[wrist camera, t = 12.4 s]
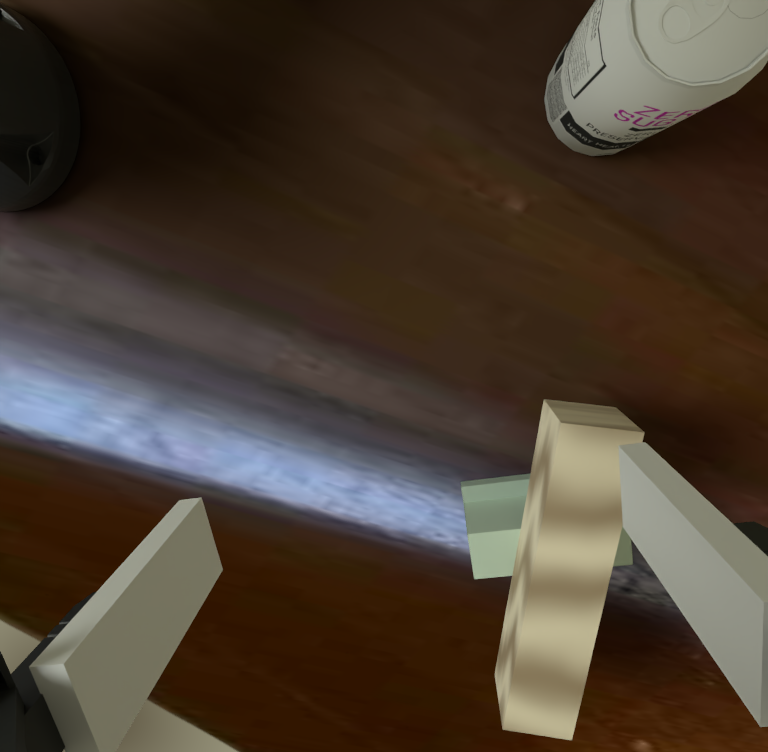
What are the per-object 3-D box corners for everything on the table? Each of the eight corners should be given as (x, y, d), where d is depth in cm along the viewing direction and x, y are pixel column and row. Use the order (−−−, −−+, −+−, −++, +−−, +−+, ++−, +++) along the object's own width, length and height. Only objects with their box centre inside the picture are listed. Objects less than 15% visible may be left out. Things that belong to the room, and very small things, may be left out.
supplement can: (626, 4, 35) (764, -169, 20) (681, 112, 36) (849, 21, 22) (521, 80, 36) (579, -30, 22) (578, 180, 38) (668, 139, 23)
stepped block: (471, 551, 46) (476, 595, 40) (460, 481, 45) (464, 516, 39) (607, 538, 45) (634, 581, 39) (601, 465, 43) (628, 499, 37)
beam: (555, 683, 42) (571, 740, 37) (494, 674, 42) (502, 729, 37) (615, 407, 36) (644, 432, 31) (543, 399, 36) (561, 422, 31)
